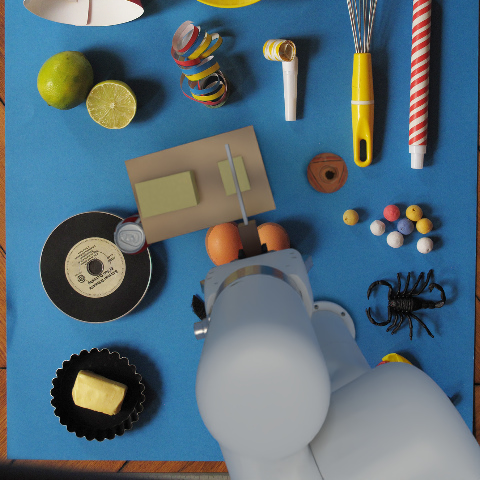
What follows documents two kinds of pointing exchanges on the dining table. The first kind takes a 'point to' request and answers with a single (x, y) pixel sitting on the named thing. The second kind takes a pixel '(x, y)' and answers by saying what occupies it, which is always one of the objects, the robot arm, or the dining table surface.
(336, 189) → the pot
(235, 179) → the knife
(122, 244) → the soda can
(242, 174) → the butter slice
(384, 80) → the dining table surface
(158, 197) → the butter block
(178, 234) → the cutting board
